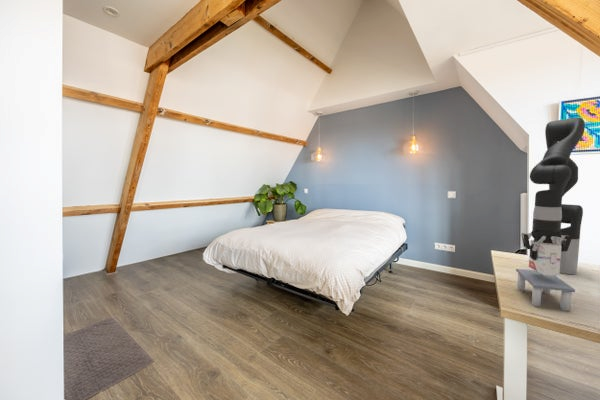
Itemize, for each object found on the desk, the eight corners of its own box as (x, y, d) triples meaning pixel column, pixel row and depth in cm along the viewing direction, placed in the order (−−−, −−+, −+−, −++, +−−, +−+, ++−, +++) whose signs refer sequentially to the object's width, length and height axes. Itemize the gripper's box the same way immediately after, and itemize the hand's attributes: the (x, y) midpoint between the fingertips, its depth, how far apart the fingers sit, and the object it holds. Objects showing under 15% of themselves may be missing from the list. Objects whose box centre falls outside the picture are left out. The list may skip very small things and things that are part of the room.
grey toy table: (515, 287, 103) (516, 268, 102) (548, 291, 99) (550, 272, 98) (532, 306, 89) (534, 284, 88) (573, 312, 84) (575, 289, 83)
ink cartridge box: (527, 266, 97) (529, 231, 96) (541, 267, 96) (544, 232, 95) (544, 275, 89) (547, 237, 87) (560, 276, 88) (563, 237, 86)
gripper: (566, 216, 91) (563, 259, 92) (518, 215, 97) (516, 255, 98) (579, 220, 84) (575, 266, 86) (526, 219, 90) (524, 261, 92)
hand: (543, 260), depth 92 cm, fingers closed on ink cartridge box, 5 cm apart
